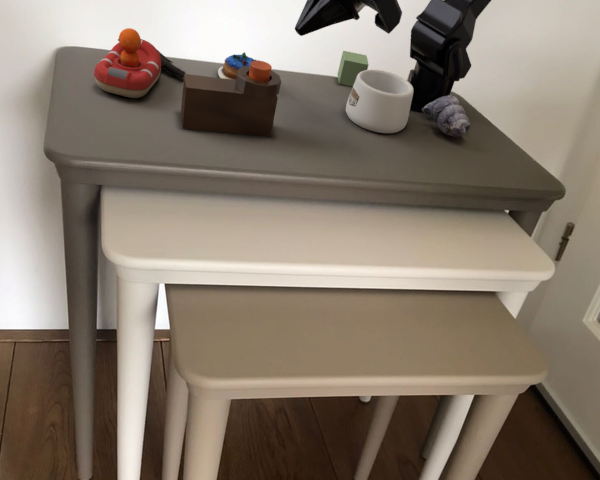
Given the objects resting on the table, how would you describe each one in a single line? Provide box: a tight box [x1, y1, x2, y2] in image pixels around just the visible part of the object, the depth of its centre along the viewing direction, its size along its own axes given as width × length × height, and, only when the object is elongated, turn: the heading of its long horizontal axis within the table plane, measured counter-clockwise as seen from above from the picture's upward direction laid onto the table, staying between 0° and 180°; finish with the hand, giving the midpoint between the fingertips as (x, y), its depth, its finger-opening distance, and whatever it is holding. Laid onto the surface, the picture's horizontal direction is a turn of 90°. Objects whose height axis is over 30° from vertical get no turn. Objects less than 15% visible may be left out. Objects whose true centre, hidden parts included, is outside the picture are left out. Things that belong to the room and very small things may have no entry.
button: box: [249, 60, 273, 82], centre depth 87 cm, size 3×3×2 cm
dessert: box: [217, 52, 260, 80], centre depth 103 cm, size 8×7×6 cm
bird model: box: [117, 38, 187, 79], centre depth 100 cm, size 3×14×3 cm, turn 61°
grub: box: [421, 95, 471, 137], centre depth 103 cm, size 5×5×10 cm
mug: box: [345, 69, 413, 134], centre depth 101 cm, size 12×10×6 cm
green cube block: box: [337, 50, 369, 88], centre depth 110 cm, size 4×4×4 cm
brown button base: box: [180, 66, 282, 138], centre depth 89 cm, size 12×6×8 cm, turn 101°
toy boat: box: [93, 27, 162, 99], centre depth 92 cm, size 8×12×8 cm, turn 173°
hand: (297, 32), depth 86 cm, fingers closed
